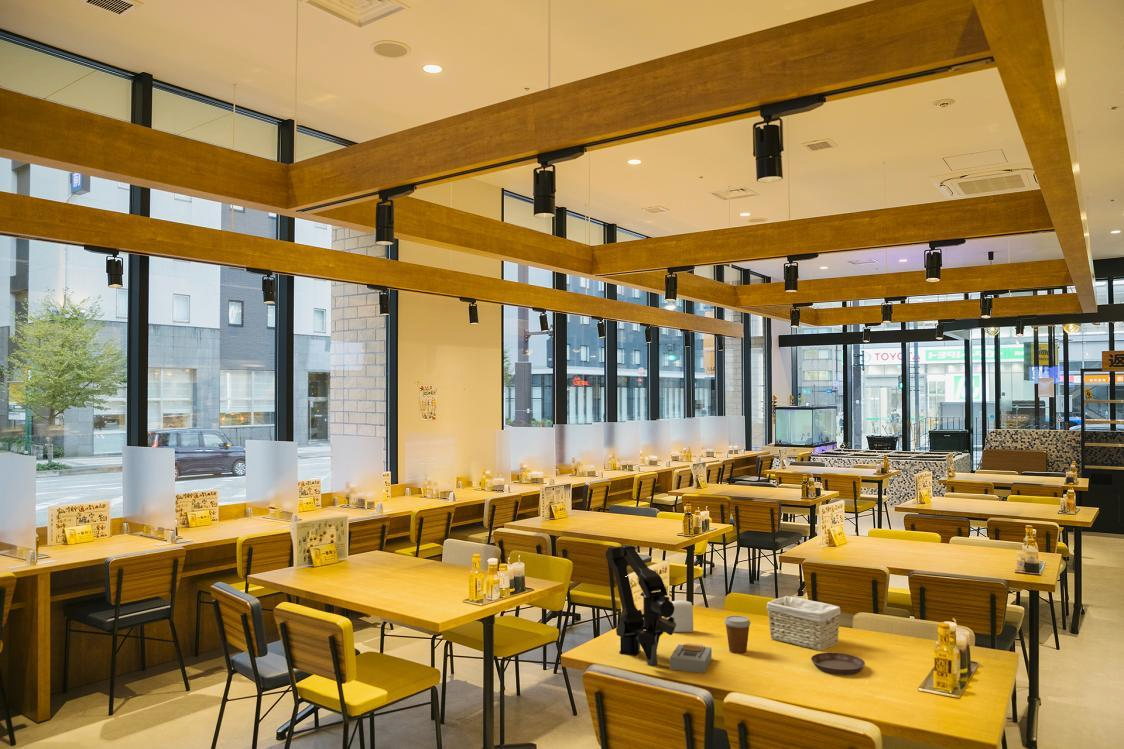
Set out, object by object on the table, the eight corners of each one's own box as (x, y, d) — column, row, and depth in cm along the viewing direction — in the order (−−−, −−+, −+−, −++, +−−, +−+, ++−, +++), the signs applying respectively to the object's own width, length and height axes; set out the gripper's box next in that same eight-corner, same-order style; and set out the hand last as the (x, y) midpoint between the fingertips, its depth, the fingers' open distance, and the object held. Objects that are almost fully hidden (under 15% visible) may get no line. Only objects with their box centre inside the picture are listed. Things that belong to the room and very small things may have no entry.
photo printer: (668, 632, 304) (668, 601, 305) (667, 629, 308) (667, 599, 309) (694, 633, 304) (693, 602, 304) (692, 630, 308) (692, 599, 309)
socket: (670, 669, 260) (669, 655, 261) (678, 655, 275) (678, 642, 276) (704, 673, 256) (704, 659, 257) (711, 658, 271) (711, 645, 272)
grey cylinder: (646, 665, 264) (646, 639, 265) (648, 662, 268) (648, 636, 268) (655, 666, 263) (655, 640, 264) (657, 663, 266) (657, 637, 267)
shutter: (683, 649, 268) (683, 644, 268) (686, 644, 274) (686, 640, 274) (700, 651, 266) (700, 646, 266) (702, 646, 272) (702, 641, 272)
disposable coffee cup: (751, 656, 274) (751, 622, 275) (724, 654, 276) (724, 621, 277) (750, 648, 284) (749, 616, 284) (724, 646, 286) (724, 614, 286)
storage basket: (843, 644, 288) (842, 605, 289) (823, 653, 277) (822, 613, 278) (786, 631, 306) (786, 594, 307) (765, 639, 295) (764, 601, 295)
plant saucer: (831, 680, 250) (831, 670, 250) (801, 663, 267) (800, 654, 267) (876, 674, 255) (876, 665, 255) (843, 659, 272) (843, 650, 272)
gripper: (668, 619, 255) (669, 666, 254) (679, 606, 273) (679, 650, 272) (636, 616, 259) (637, 662, 258) (649, 604, 276) (649, 647, 275)
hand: (652, 655), depth 266 cm, fingers open, 9 cm apart
